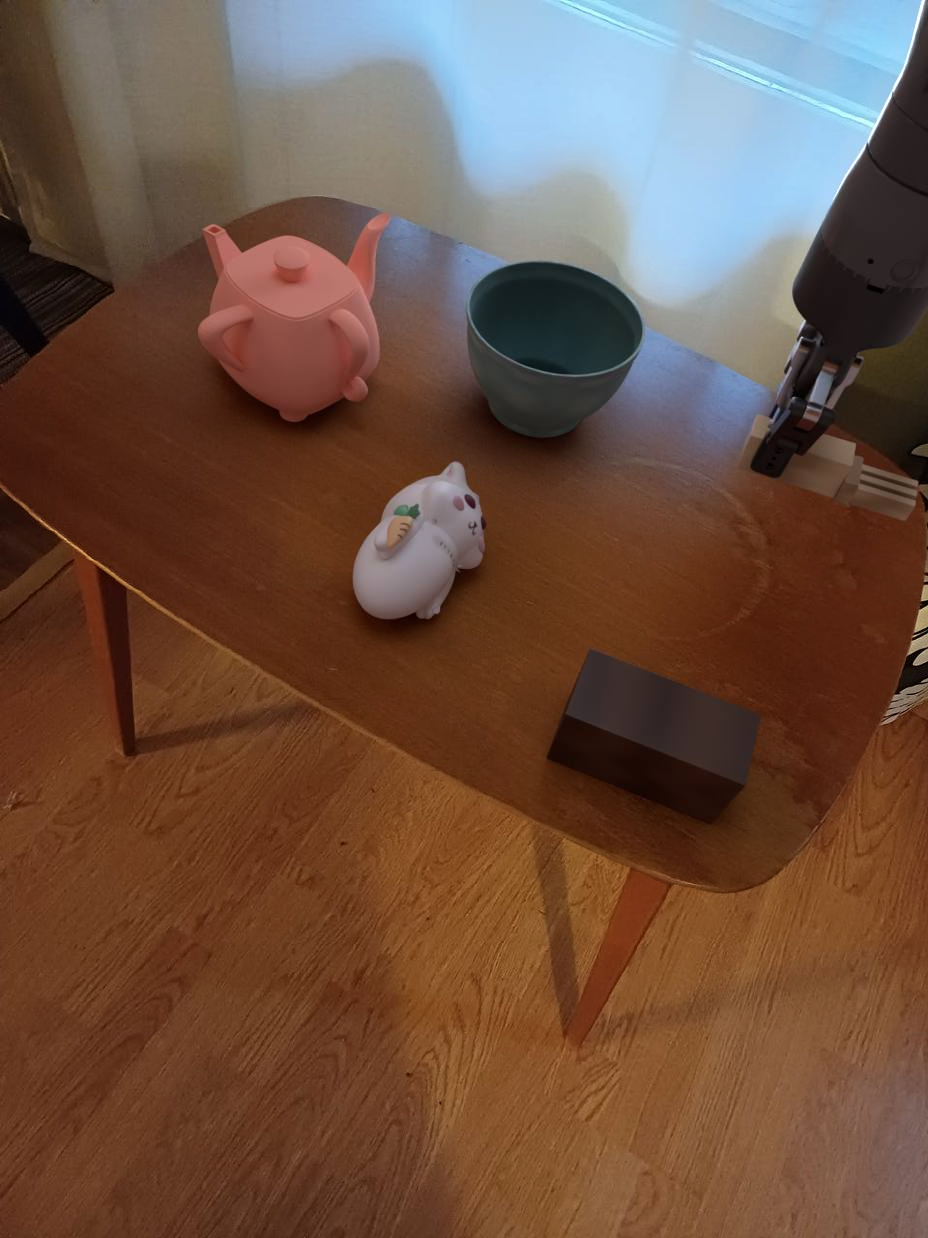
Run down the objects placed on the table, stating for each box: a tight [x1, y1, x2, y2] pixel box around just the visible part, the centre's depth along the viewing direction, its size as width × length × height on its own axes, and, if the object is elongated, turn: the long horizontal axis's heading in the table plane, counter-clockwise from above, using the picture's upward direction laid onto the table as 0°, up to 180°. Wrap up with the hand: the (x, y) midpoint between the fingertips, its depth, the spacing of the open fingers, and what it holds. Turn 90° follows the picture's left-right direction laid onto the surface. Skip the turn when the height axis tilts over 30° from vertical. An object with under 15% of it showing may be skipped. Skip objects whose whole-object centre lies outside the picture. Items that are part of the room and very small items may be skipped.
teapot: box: [197, 212, 391, 423], centre depth 84 cm, size 16×17×14 cm
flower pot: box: [465, 259, 647, 439], centre depth 87 cm, size 16×16×11 cm
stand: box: [546, 647, 762, 825], centre depth 68 cm, size 13×6×7 cm, turn 69°
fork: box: [736, 413, 919, 522], centre depth 65 cm, size 12×3×3 cm, turn 69°
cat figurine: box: [352, 461, 487, 620], centre depth 75 cm, size 10×8×15 cm
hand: (768, 456), depth 66 cm, fingers closed on fork, 2 cm apart
